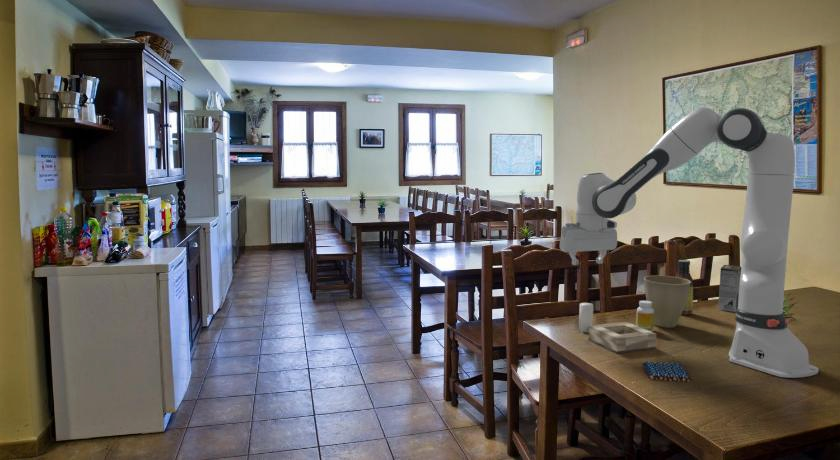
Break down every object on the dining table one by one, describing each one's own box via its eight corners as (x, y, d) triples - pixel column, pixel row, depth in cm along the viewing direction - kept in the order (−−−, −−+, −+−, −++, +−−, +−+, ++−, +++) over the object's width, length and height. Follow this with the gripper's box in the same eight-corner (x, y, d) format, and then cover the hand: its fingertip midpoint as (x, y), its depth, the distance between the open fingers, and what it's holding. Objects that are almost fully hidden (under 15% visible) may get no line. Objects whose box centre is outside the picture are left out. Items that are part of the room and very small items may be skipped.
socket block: (655, 348, 179) (656, 333, 179) (616, 353, 175) (617, 338, 174) (625, 335, 193) (626, 321, 192) (588, 339, 188) (589, 325, 188)
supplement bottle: (654, 332, 195) (655, 304, 194) (637, 332, 197) (638, 303, 195) (651, 328, 201) (652, 300, 200) (634, 327, 202) (636, 299, 201)
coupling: (597, 332, 196) (598, 306, 194) (586, 334, 194) (587, 307, 193) (585, 327, 202) (585, 301, 201) (574, 328, 201) (574, 302, 200)
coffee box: (721, 304, 232) (724, 264, 231) (740, 307, 229) (742, 266, 227) (717, 309, 225) (719, 267, 223) (736, 312, 221) (739, 269, 219)
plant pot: (675, 333, 195) (678, 286, 193) (633, 324, 206) (635, 279, 204) (696, 325, 204) (698, 279, 202) (654, 316, 215) (656, 273, 213)
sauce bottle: (693, 312, 221) (696, 260, 218) (691, 316, 215) (694, 262, 213) (674, 310, 224) (677, 258, 222) (671, 314, 219) (674, 261, 217)
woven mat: (692, 383, 153) (692, 376, 152) (648, 381, 155) (649, 373, 154) (681, 369, 163) (682, 362, 163) (641, 367, 165) (641, 360, 165)
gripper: (567, 224, 187) (565, 267, 189) (621, 222, 194) (618, 264, 196) (556, 222, 193) (554, 263, 195) (609, 220, 200) (606, 260, 202)
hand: (587, 264), depth 195 cm, fingers open, 8 cm apart
